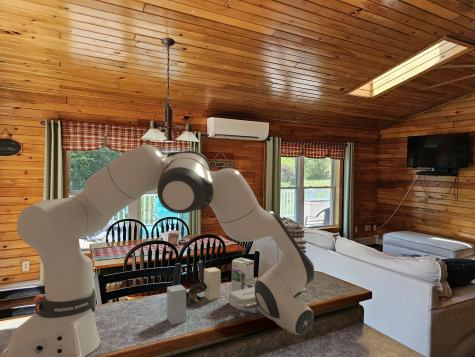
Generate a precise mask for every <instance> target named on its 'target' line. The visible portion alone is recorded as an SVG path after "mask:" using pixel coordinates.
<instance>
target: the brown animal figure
mask: <svg viewBox="0 0 475 357" xmlns="http://www.w3.org/2000/svg"><path fill="white" fill-rule="evenodd" d="M206 289H207V286H206V284H205V283H204V282H203V281H202V282H201V281H200V282H197V283H195V284H193V285H191V286H190V288H189V289H188V291H186V307H187V306H188V305H189V304H190V302H191V301H194V302H195V303H197V304H199V300H198V298H200V299H201V298H202V299H203V297H201V296H199V295H198V294H200V293H204V291H206Z"/></svg>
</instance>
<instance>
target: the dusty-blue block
mask: <svg viewBox="0 0 475 357" xmlns="http://www.w3.org/2000/svg"><path fill="white" fill-rule="evenodd" d="M186 292H187V289H186V288H185V287H184V286H183V285H182V284H177V285H172V286H171V285H170V286H166V319H167V321H168V322H169V324H170V325H171V326H174V325H178V324H181V323H185V322H187V306H186Z"/></svg>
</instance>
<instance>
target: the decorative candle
mask: <svg viewBox="0 0 475 357" xmlns="http://www.w3.org/2000/svg"><path fill="white" fill-rule="evenodd" d="M285 226H286V228H287V229H288V231H289V232H290V234H291V235H292V237H293V238H294V240H295V241H296V243H297V244H298V246H299V247H300V249H301V250H302V251H303V252H304V253H305V254H306V253H307V250H306V249H307V247H306V246H305V245H306V244H307V241H306V237H305V230H306V228H304V227H303V225H302V224H299V223H289V224H287V225H285ZM305 287H306V286H305ZM305 287H303V288H302V289H301V290H300V291H299V292H298V293H302V292H304V291H305V290H306V288H305Z"/></svg>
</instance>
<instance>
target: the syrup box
mask: <svg viewBox="0 0 475 357" xmlns="http://www.w3.org/2000/svg"><path fill="white" fill-rule="evenodd" d="M254 263H255V262H254V260H253V259H252V260H251V259H249V258H244V257H238V258H234V259H233V260H232V261H231V292H232V291H237V290H242V289H243V286H245V285H250V284H252V285H254Z"/></svg>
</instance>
